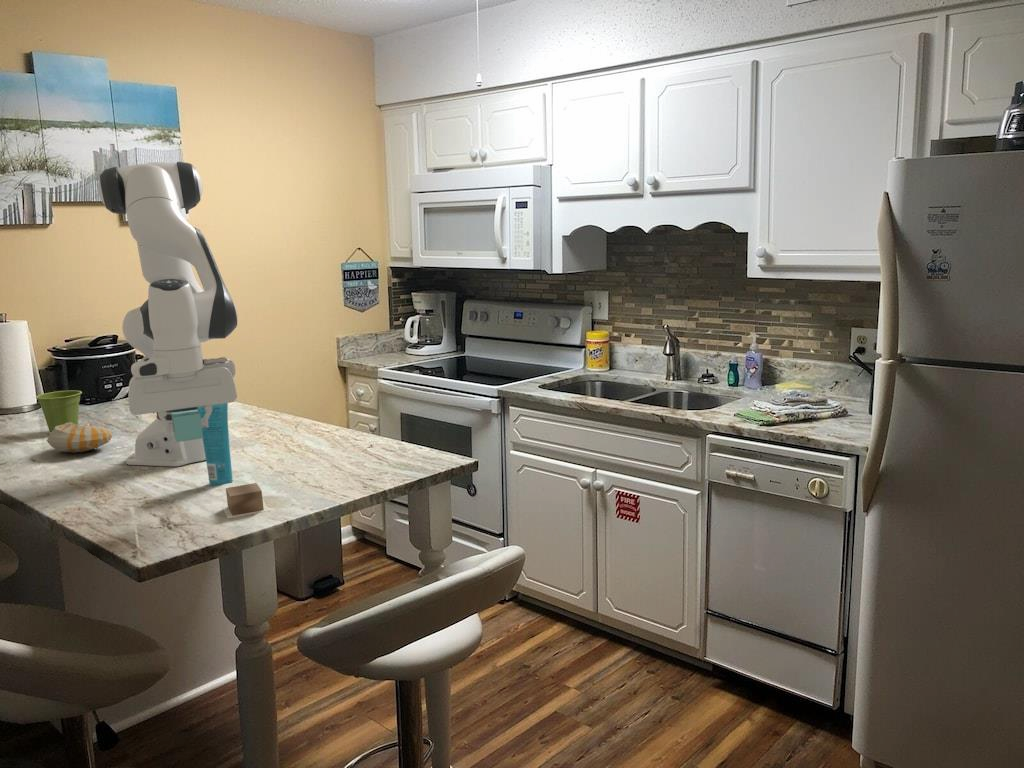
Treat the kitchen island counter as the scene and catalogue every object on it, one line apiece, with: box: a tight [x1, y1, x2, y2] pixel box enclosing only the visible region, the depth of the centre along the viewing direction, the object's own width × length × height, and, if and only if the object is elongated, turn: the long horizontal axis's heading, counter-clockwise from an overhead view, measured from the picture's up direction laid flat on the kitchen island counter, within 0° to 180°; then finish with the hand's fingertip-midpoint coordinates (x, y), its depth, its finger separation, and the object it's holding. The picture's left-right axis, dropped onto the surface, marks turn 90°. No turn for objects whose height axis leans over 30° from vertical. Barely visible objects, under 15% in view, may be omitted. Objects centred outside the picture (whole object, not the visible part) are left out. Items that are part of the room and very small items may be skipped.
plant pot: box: [35, 389, 83, 433], centre depth 242 cm, size 12×12×11 cm
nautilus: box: [46, 422, 113, 453], centre depth 222 cm, size 8×22×15 cm
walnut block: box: [225, 482, 264, 516], centre depth 167 cm, size 6×6×4 cm
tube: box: [197, 403, 234, 487], centre depth 185 cm, size 7×5×19 cm, turn 88°
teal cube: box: [171, 410, 203, 442], centre depth 168 cm, size 5×5×5 cm
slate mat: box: [221, 500, 271, 519], centre depth 167 cm, size 14×12×1 cm
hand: (187, 429), depth 168 cm, fingers closed on teal cube, 5 cm apart
